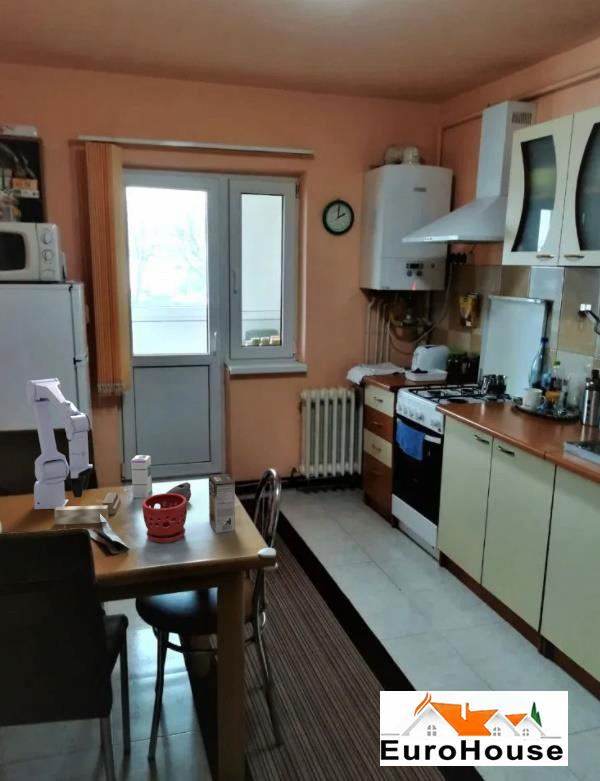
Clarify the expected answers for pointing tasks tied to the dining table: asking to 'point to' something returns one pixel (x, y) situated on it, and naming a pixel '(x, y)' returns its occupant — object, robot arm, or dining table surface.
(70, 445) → the robot arm
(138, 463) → the syrup box
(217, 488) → the coffee box
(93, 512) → the metal bar
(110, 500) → the walnut ridge
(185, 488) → the perforated stone tool
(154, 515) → the plant pot
